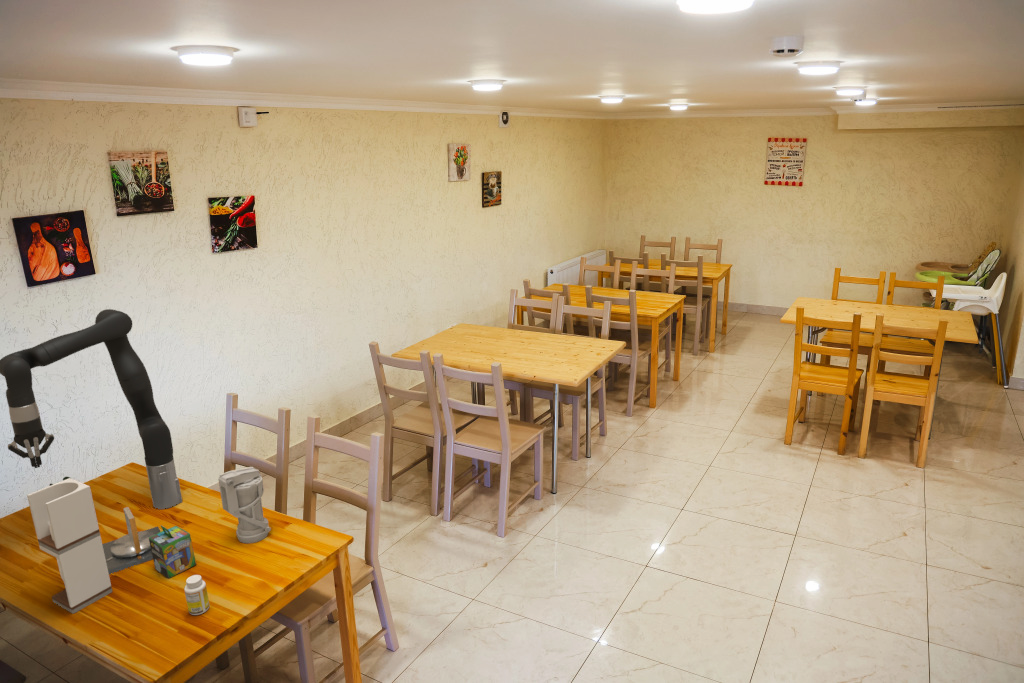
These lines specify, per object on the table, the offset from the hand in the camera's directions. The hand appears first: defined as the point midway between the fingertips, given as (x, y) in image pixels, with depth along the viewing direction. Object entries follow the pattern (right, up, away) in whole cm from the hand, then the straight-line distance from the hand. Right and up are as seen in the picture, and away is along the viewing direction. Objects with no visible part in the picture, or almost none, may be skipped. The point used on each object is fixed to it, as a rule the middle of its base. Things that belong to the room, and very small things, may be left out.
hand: (37, 466), depth 222 cm
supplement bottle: (+64, -36, -26) cm, 78 cm away
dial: (+30, -27, +3) cm, 40 cm away
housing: (+30, -28, +4) cm, 41 cm away
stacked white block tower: (+27, -35, -19) cm, 48 cm away
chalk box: (+48, -31, -5) cm, 57 cm away
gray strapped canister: (+65, -26, +10) cm, 71 cm away
